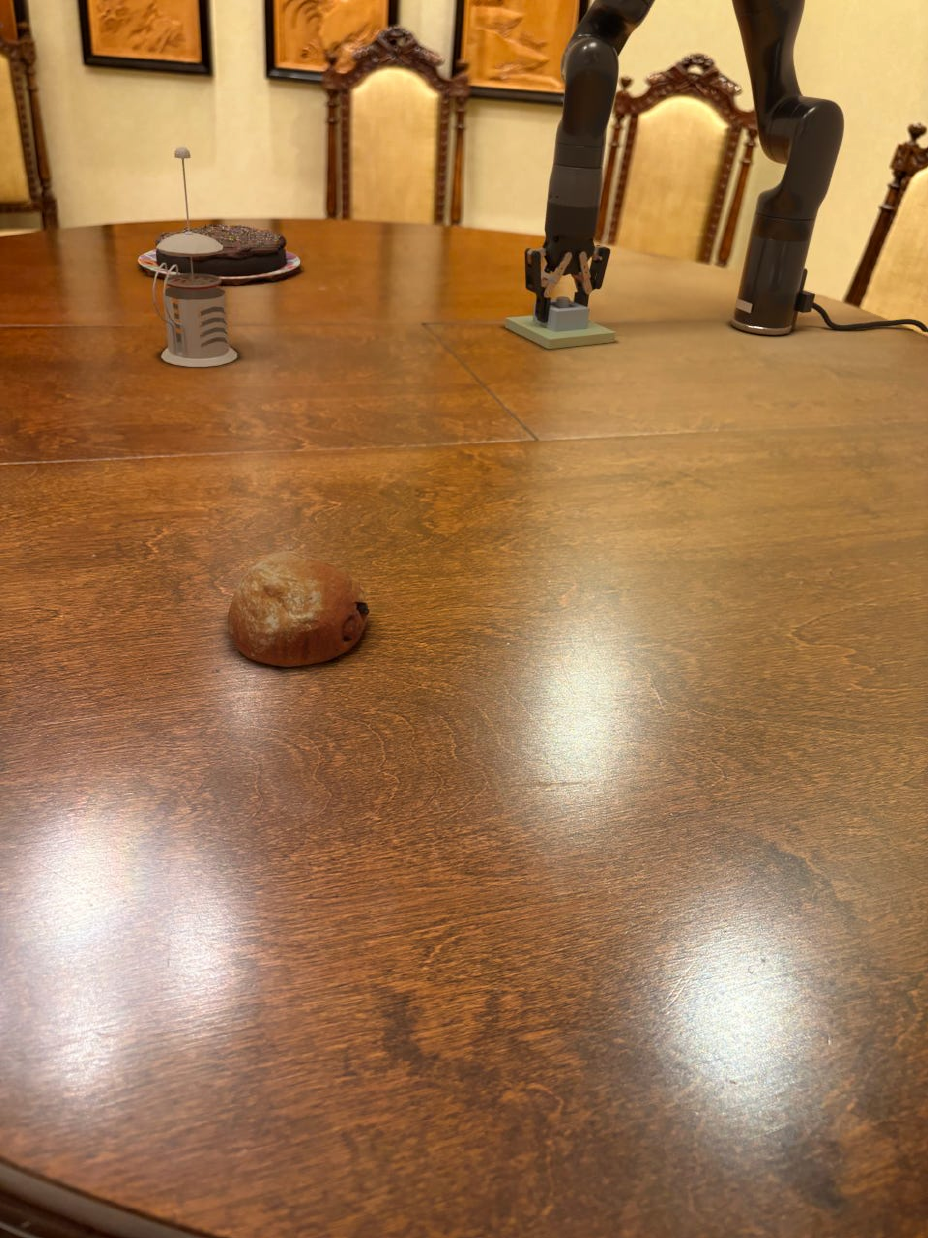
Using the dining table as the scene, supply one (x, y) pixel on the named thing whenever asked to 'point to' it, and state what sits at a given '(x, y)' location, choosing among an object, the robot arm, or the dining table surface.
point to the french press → (193, 301)
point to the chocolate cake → (230, 256)
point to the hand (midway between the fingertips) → (560, 319)
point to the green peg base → (560, 338)
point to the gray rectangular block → (565, 317)
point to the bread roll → (296, 611)
